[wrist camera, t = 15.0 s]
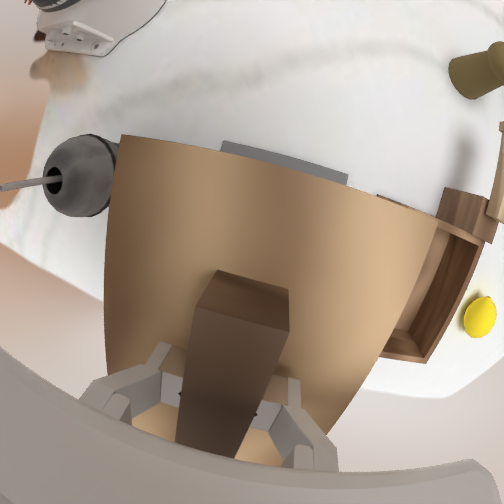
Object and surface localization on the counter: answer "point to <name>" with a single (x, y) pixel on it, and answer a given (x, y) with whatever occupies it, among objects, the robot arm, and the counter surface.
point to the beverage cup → (77, 176)
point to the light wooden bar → (498, 186)
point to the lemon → (480, 317)
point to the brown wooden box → (441, 275)
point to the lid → (250, 286)
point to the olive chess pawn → (478, 71)
